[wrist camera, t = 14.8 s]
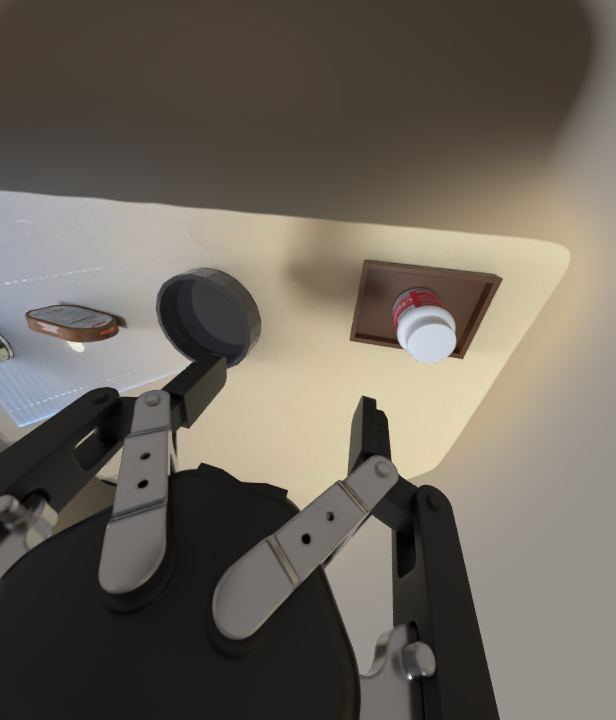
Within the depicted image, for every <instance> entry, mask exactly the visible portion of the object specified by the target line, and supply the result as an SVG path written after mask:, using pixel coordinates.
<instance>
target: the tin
mask: <svg viewBox="0 0 616 720" xmlns="http://www.w3.org/2000/svg"><path fill="white" fill-rule="evenodd" d="M25 316H26V319H27V322H28V324H29V328H30V329H31V330H32V331H35V332H39V333H42V334H46V335H49V336H53V337H56V338H60V339H63V340H67V341H71V342H95V341H101V340H105V339H108V338H111V337H113V336H115V335H116V334H118V332H119V329H118V326H117V322H116V319H115V318H114V317H113V316H111V315H108V314H105V313H101V312H97V311H93V310H90V309H86V308H82V307H78V306H72V305H54V306H49V307H45V308H40V309H35V310H30V311H28V312H27V313H26V315H25Z"/></svg>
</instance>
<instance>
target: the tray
mask: <svg viewBox="0 0 616 720" xmlns="http://www.w3.org/2000/svg"><path fill="white" fill-rule="evenodd" d="M502 279H503V278H501V277H499V276H497V275H495V274H486V273H477V272H468V271H459V270H450V269H442V268H433V267H424V266H415V265H406V264H397V263H388V262H379V261H370V260H364V265H363V270H362V276H361V281H360V286H359V292H358V297H357V303H356V308H355V313H354V319H353V324H352V329H351V335H350V341H355V342H361V343H367V344H373V345H379V346H385V347H392V348H398V349H403V348H402V346H401V345H400V343H399V341H398V338H397V334H396V329H395V325H394V320H393V315H392V310H393V306H394V303H395V301H396V300H397V298H398V297H399V296H400V295H402V294H403V293H404V292H406V291H408V290H411V289H415V288H423V289H427V290H429V291H431V292H432V293H434V294H435V295H436V296H437V297H438V299H439V300H440V301H441V303H442V304H443V305H444V306H445V308H446V309H447V310H448V312H449V313H450V314H451V316H452V317H453V319H454V322H455V328H456V329H455V336H456V345H455V348H454V350H453V352H452V353H451V354H450V355H449V356H448V357H453V358H459V359H463V358H464V356H465V354H466V352H467V350H468V348H469V346H470V344H471V342H472V340H473V338H474V336H475V334H476V332H477V330H478V328H479V326H480V324H481V322H482V320H483V317H484V315H485V313H486V311H487V309H488V307H489V305H490V303H491V301H492V299H493V297H494V295H495V293H496V291H497V289H498V287H499V285H500V283H501V281H502Z"/></svg>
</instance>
